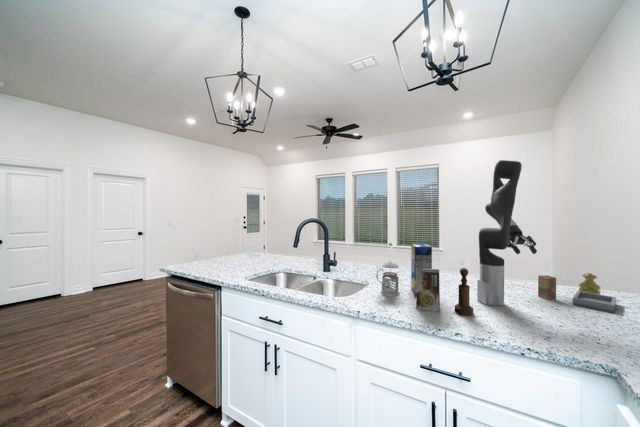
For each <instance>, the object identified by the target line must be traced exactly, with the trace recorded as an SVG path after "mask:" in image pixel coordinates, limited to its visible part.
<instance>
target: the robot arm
mask: <svg viewBox="0 0 640 427" xmlns="http://www.w3.org/2000/svg"><path fill="white" fill-rule="evenodd" d="M521 172H522V162H521V161H516V160H504V159H503V160H500V159H499V160H498V161H497V162H496V163H495V166H494V169H493V180H492V193H491V197H490V203H487V204H486V205H485V207H484V209H485V211H486V214H488V215H489V216H490V217H491V218H492V219H494V220H495V221H496V222H497V224H498V226H499V228H495V227H482V228H481V229H480V230H479V232H478V249H479V250H478V252H479V278H478V279H477V280H476V281H477V285H476V286H477V289H476V290H477V291H476V292H477V294H476V295H477V296H476V297H477V299H476V300H477V301H478V302H480V303H482V304H484V305H487V306H493V307H495V306H496V307H502V306H504V305H505V259H504V258H503V257H502V256H498V255H497V254H495V253H493V252H492V251H491V250H501V251H502V250H506V249H507V248H511V249H512V250H513V252H514V253H516V255H519V254H520V253H521V250H520V249H519V247H518V245H523V246H524V247H527V248H528V249H529V250H530V251H531V253H532V255H536V254H537V252H538V250H537V249H536V247H535V246H536V245H537V242H536V241H535V240H534V239H533V238H532V237H531V235H528V236H525V235H523V231H522V230H521V228H520V227H519V225H518V224H517V223H516V222H515V221H514V220H513V218H512V216H513V212H514V207H515V202H516V195H517V188H518V184H519V179H520V176H521ZM502 179H504V180H508V181H507V182H506V183H504V182H503V181H502ZM490 249H491V250H490Z"/></svg>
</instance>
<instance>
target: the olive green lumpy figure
mask: <svg viewBox="0 0 640 427" xmlns="http://www.w3.org/2000/svg"><path fill="white" fill-rule="evenodd" d="M582 277H583V278H584V280H582V282H579V283H578V286H579V288H578V291H581V292H587V293H593V294H599V295H601V290H600V289H601V286H600V285H599V284H597V283H596V282H595V281H594V280H596V279H597V275H595V274H593V273H591V272H590V273H588V272H587V273H584V274H582Z"/></svg>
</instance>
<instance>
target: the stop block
mask: <svg viewBox="0 0 640 427" xmlns="http://www.w3.org/2000/svg"><path fill="white" fill-rule="evenodd" d="M537 277H538V278H537V281H538V282H537V297H538V298H541V299H543V300H546V301H548V300H549V301H550V300H551V301H552V299H556V300H557V277H555V276H551V275H538V276H537Z"/></svg>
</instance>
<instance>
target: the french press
mask: <svg viewBox="0 0 640 427" xmlns="http://www.w3.org/2000/svg"><path fill="white" fill-rule="evenodd" d="M388 246H389V247H391V246H393V244H392V242H390V243H388ZM382 267H383V268H387V269H397V268H399V265H398V264H397V263H395V262H391V261H388V262H386V263H385V262H384V263H383V264H381V268H379V269H378V270H377V271H376V276H375V277H376V280H377V282H379V283H380V284H381V290H380V294H381V295H382V296H387V297H398V296H400V295H401V292H400V291H399V276H398V273H397V272H393V271H385V272H384V269H383V268H382ZM380 271H381V272H383V273H382V274H383V275H382V278H381V279H382V281H380V280H379V278H378V277H379V272H380Z"/></svg>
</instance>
